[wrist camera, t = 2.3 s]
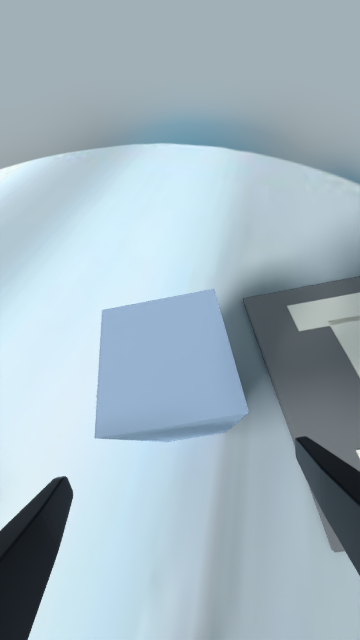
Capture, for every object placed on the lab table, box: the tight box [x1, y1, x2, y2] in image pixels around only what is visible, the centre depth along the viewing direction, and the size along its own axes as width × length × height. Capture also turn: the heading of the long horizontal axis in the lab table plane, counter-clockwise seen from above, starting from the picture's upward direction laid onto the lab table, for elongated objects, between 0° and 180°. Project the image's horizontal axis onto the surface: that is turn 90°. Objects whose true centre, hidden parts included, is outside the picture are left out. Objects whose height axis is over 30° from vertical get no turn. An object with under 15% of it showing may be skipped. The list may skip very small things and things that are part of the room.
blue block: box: [95, 289, 249, 442], centre depth 14 cm, size 5×5×13 cm
